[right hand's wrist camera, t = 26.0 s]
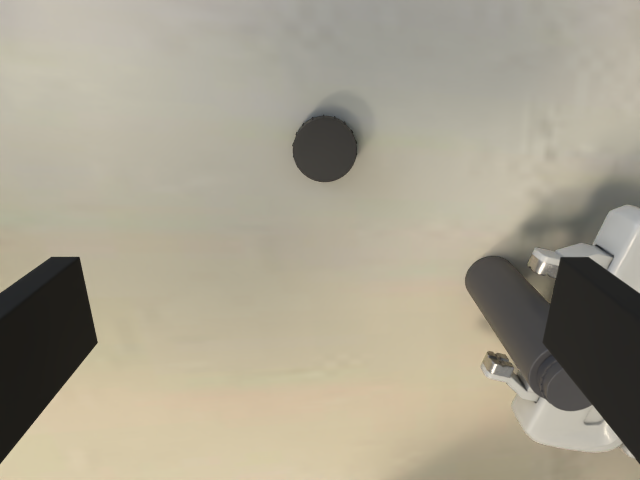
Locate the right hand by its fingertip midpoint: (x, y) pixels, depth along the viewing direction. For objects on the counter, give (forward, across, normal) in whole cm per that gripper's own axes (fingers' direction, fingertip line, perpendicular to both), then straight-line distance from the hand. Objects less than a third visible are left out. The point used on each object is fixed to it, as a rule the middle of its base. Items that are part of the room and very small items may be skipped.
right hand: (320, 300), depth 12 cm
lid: (+24, 0, 0) cm, 24 cm away
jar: (+25, +15, -12) cm, 32 cm away
